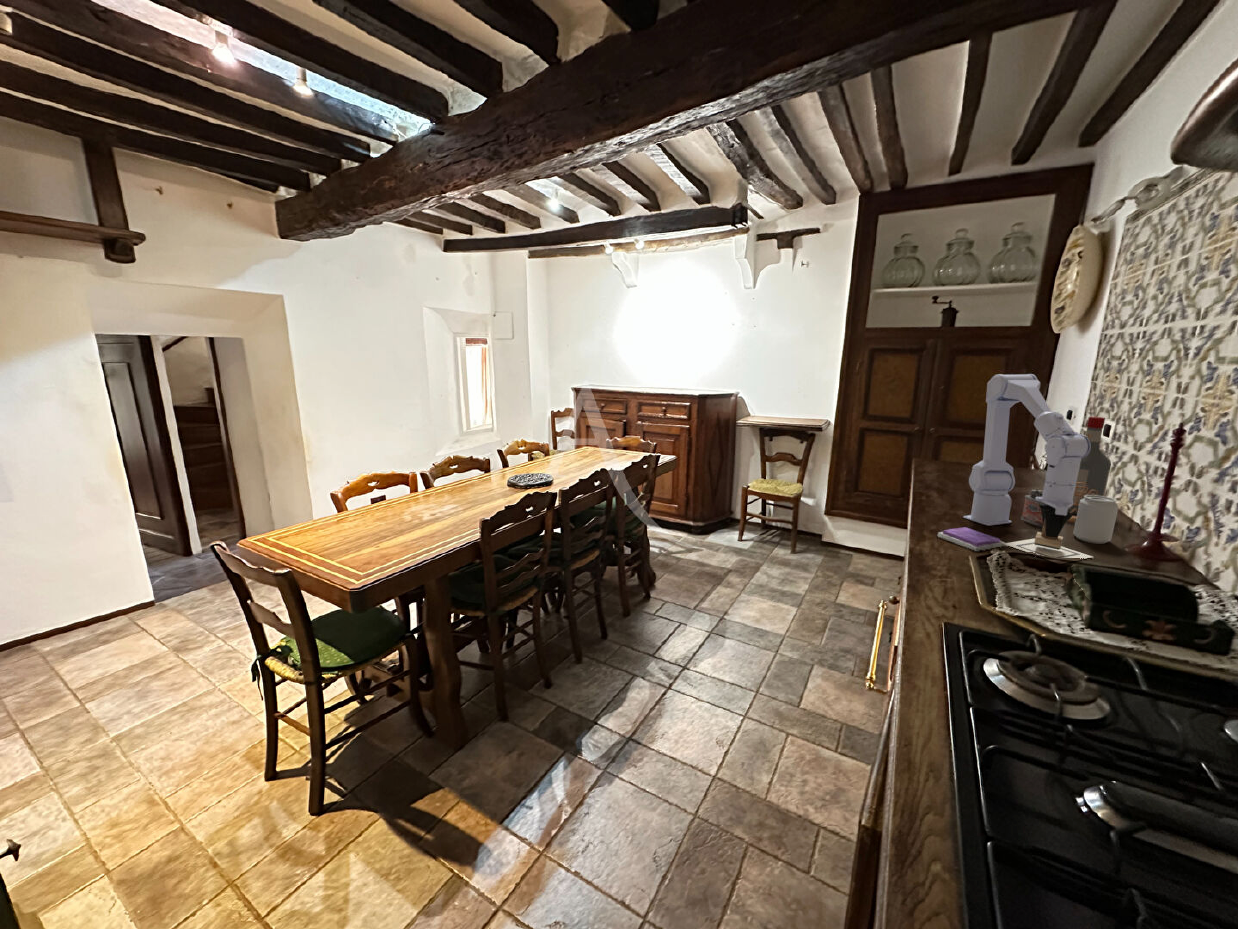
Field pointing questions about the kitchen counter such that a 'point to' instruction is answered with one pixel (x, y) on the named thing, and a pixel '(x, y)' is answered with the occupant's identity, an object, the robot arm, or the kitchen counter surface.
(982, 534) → the ink pad
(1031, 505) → the lighter
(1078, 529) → the can
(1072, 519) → the gingerbread man figurine
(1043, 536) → the stamp
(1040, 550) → the marked card
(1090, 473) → the liquor
